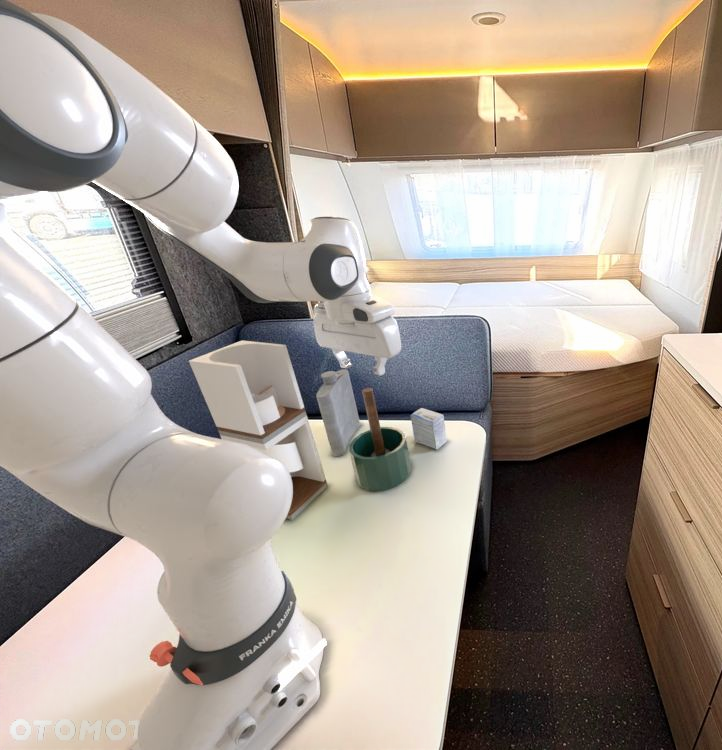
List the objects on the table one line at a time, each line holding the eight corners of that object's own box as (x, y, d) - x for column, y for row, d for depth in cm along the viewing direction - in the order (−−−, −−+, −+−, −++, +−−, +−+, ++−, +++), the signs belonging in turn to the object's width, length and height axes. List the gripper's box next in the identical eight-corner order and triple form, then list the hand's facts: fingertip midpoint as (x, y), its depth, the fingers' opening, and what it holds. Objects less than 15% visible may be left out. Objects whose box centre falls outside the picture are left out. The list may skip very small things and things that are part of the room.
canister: (387, 497, 85) (380, 465, 81) (345, 482, 90) (336, 450, 86) (421, 464, 95) (416, 433, 91) (382, 452, 100) (376, 422, 96)
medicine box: (447, 442, 103) (444, 414, 99) (436, 450, 100) (432, 422, 96) (425, 433, 107) (421, 406, 103) (414, 442, 104) (409, 414, 100)
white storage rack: (251, 508, 83) (188, 360, 68) (289, 477, 92) (241, 340, 77) (292, 520, 80) (235, 367, 65) (327, 486, 89) (285, 344, 74)
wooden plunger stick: (385, 479, 90) (367, 396, 80) (370, 474, 92) (352, 392, 82) (397, 467, 93) (382, 387, 84) (383, 463, 95) (366, 384, 86)
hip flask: (342, 456, 99) (324, 387, 91) (327, 456, 99) (307, 388, 91) (361, 422, 114) (347, 360, 105) (348, 423, 114) (332, 361, 105)
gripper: (299, 305, 77) (315, 369, 83) (378, 315, 68) (390, 384, 74) (324, 298, 82) (338, 358, 88) (400, 306, 73) (410, 372, 79)
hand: (362, 370), depth 81 cm, fingers open, 8 cm apart
